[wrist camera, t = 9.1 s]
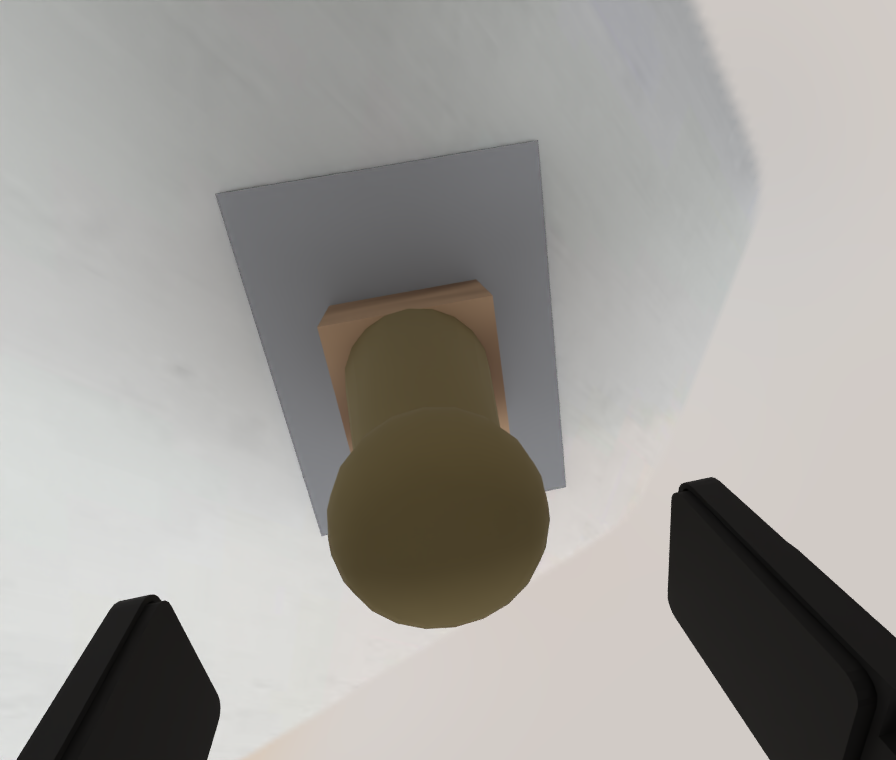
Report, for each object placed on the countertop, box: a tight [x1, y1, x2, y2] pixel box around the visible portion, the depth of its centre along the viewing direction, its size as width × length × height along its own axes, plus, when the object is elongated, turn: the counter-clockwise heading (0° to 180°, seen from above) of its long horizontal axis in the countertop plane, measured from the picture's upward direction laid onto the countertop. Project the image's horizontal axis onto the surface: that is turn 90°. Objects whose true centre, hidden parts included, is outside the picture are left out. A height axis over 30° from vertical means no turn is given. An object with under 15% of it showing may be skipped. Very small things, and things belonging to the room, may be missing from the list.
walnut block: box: [317, 279, 510, 453], centre depth 22 cm, size 7×7×4 cm
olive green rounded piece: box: [327, 309, 550, 629], centre depth 15 cm, size 6×6×11 cm
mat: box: [215, 140, 566, 536], centre depth 24 cm, size 18×14×1 cm
